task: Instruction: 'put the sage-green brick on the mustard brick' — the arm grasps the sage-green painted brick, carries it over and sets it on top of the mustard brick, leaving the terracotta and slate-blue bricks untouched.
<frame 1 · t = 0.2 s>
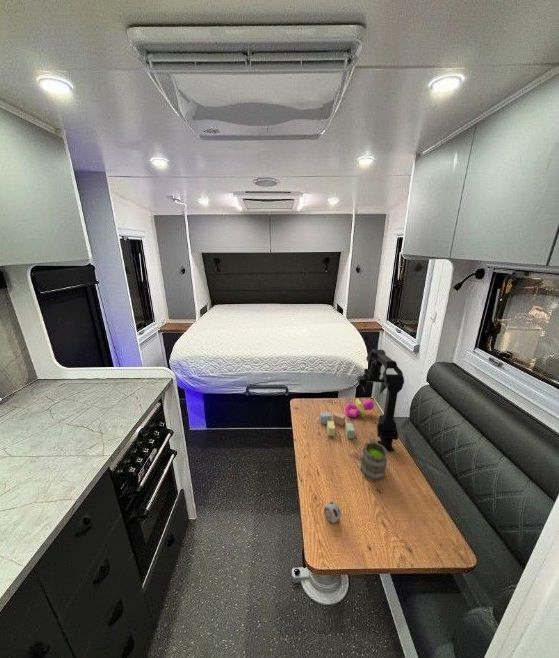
hand: (372, 393, 155), 14 cm above the table, fingers open, 9 cm apart
mustard brick: (330, 432, 143), on the table
toy: (359, 414, 159), on the table
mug: (371, 467, 120), on the table
terracotta brick: (338, 422, 151), on the table
slate brick: (325, 421, 151), on the table
green brick: (349, 434, 141), on the table
roller toy: (332, 517, 98), on the table
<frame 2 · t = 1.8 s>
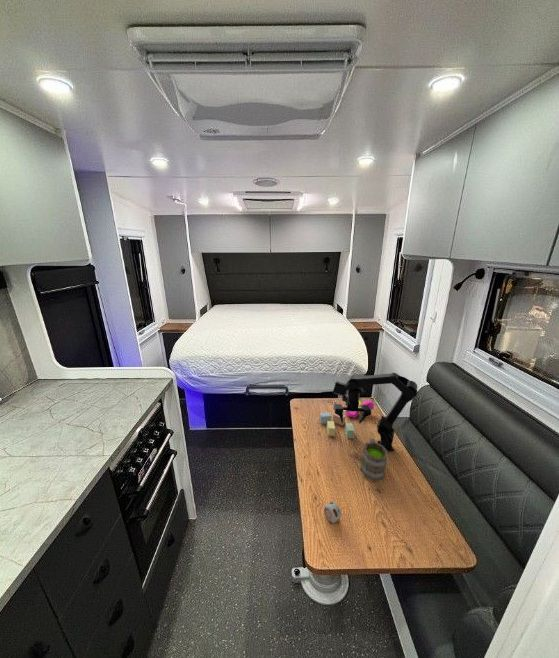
hand: (350, 422, 139), 7 cm above the table, fingers open, 9 cm apart
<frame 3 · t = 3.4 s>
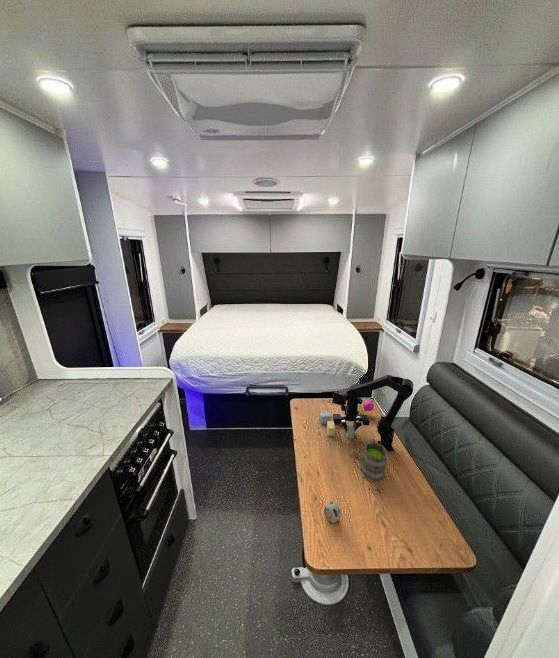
hand: (349, 432, 141), 1 cm above the table, fingers closed on green brick, 3 cm apart
green brick: (349, 434, 141), on the table, touching gripper
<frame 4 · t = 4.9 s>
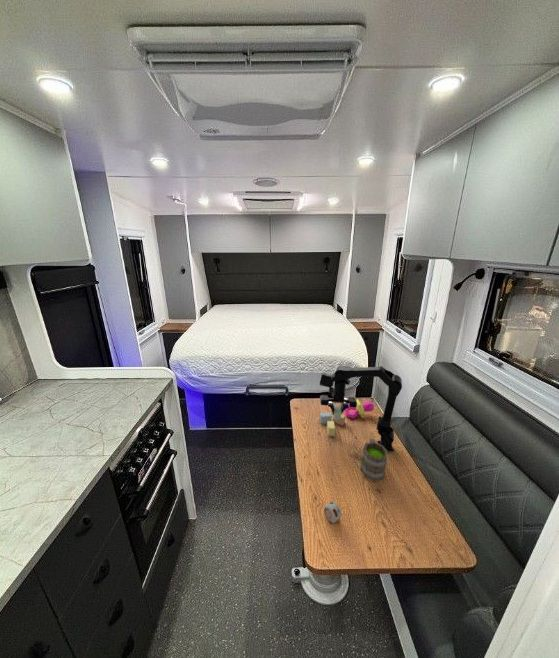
hand: (336, 414, 139), 12 cm above the table, fingers closed on green brick, 3 cm apart
green brick: (336, 416, 139), point 10 cm above the table, touching gripper
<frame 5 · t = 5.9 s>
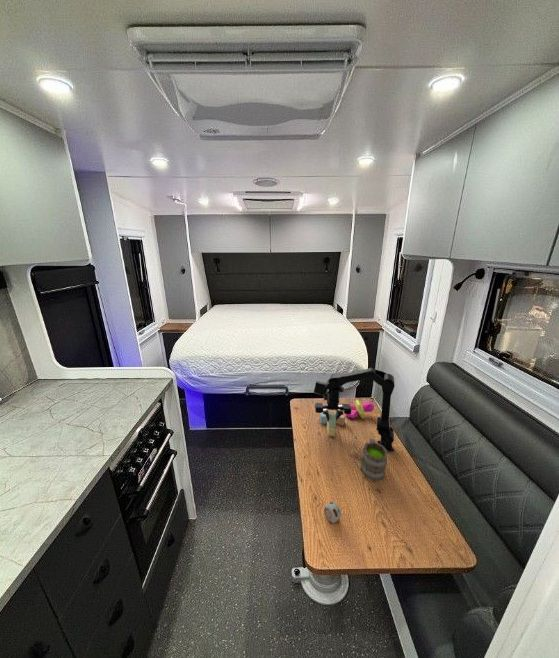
hand: (331, 421, 141), 7 cm above the table, fingers closed on green brick, 3 cm apart
green brick: (331, 423, 141), point 6 cm above the table, touching gripper
when the fingers open (7 cm above the table, at t = 6.5 s): green brick stays where it is, resting on mustard brick.
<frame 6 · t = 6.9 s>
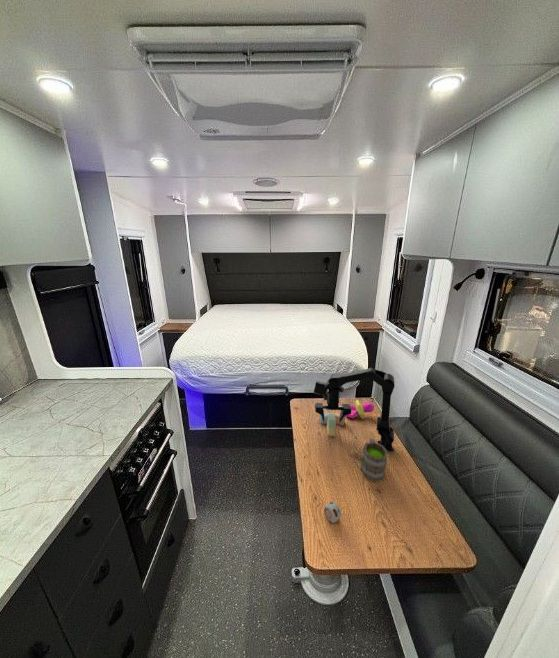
hand: (331, 421, 141), 7 cm above the table, fingers open, 8 cm apart
mustard brick: (330, 432, 143), on the table, touching green brick
green brick: (331, 424, 141), point 5 cm above the table, touching mustard brick
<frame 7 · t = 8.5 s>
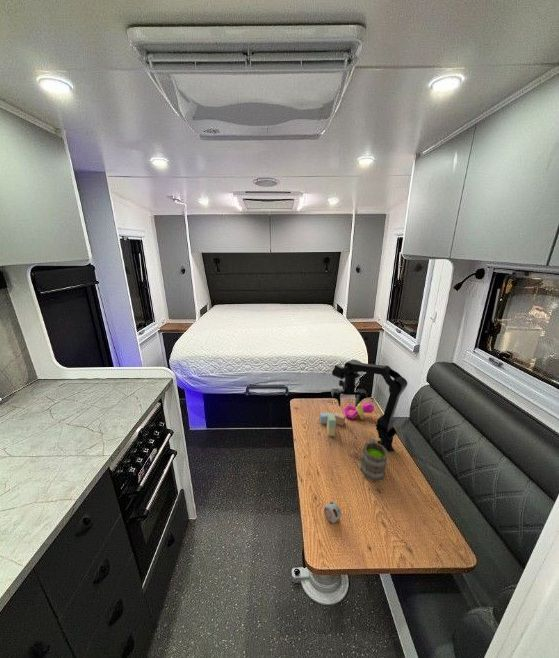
hand: (347, 406, 146), 12 cm above the table, fingers open, 9 cm apart
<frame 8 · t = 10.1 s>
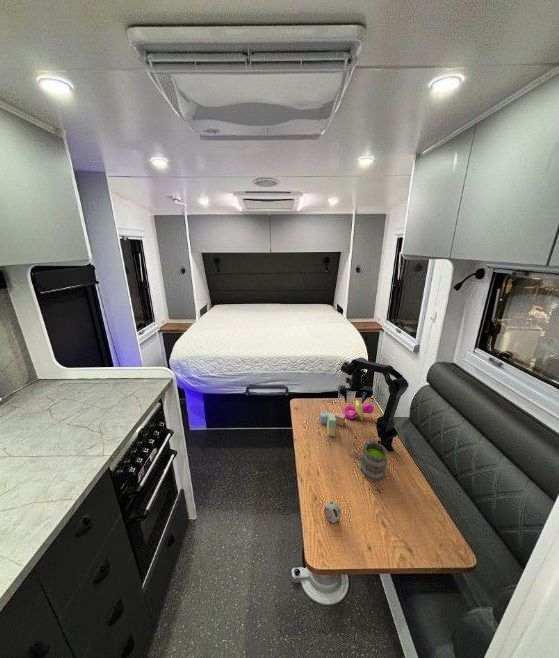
hand: (353, 403, 149), 12 cm above the table, fingers open, 9 cm apart
at the end: green brick 0.0 cm off-centre on the mustard brick, point 5.0 cm above the mustard brick's base; terracotta brick moved 0.1 cm from its start; slate brick moved 0.1 cm from its start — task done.
